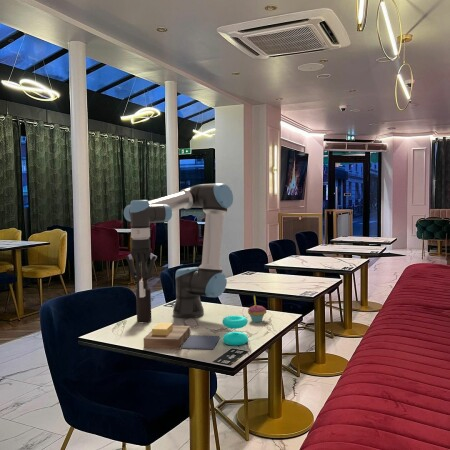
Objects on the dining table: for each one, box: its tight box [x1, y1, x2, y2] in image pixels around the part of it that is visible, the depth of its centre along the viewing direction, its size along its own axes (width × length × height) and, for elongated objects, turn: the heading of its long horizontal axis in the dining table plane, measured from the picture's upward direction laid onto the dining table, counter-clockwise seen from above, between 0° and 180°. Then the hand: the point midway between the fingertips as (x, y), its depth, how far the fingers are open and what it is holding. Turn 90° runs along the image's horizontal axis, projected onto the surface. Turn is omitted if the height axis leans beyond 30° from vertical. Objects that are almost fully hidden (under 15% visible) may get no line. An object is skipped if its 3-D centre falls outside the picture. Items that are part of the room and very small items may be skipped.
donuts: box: [222, 314, 249, 347], centre depth 183 cm, size 10×10×10 cm
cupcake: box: [247, 295, 267, 323], centre depth 214 cm, size 9×8×12 cm
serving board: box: [143, 325, 191, 351], centre depth 186 cm, size 18×14×4 cm
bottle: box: [135, 277, 152, 323], centre depth 217 cm, size 7×7×20 cm
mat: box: [180, 334, 221, 351], centre depth 184 cm, size 16×12×1 cm
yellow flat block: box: [151, 322, 174, 335], centre depth 186 cm, size 9×6×2 cm, turn 171°
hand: (142, 296), depth 186 cm, fingers closed
